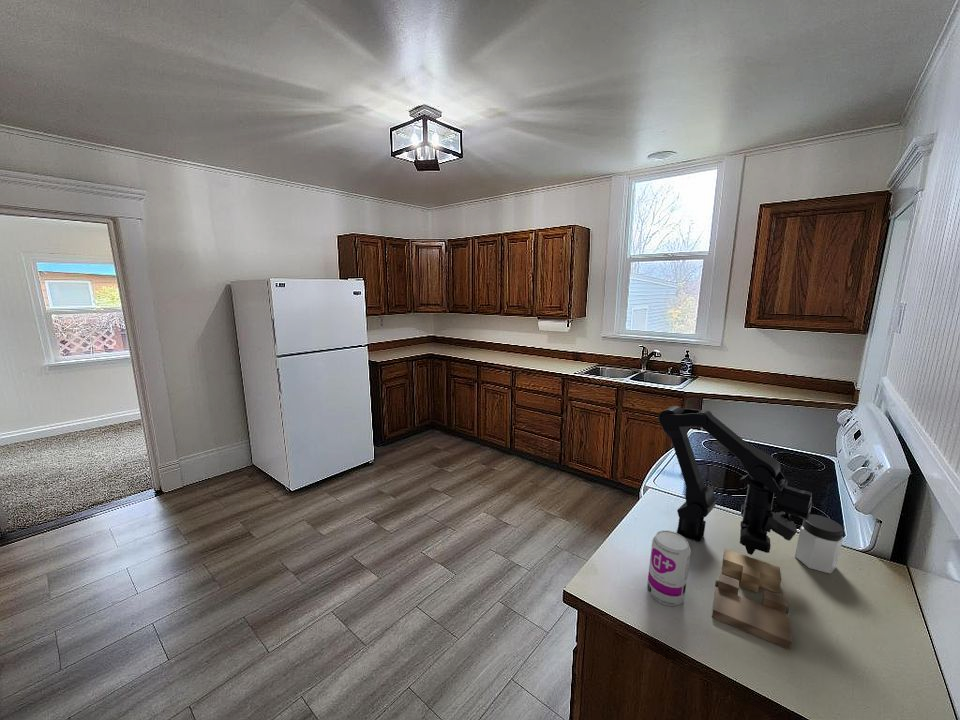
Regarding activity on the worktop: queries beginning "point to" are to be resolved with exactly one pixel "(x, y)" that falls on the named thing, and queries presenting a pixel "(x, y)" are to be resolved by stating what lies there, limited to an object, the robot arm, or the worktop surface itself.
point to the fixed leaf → (752, 612)
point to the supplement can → (668, 568)
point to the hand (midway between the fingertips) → (749, 553)
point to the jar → (819, 543)
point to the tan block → (751, 571)
